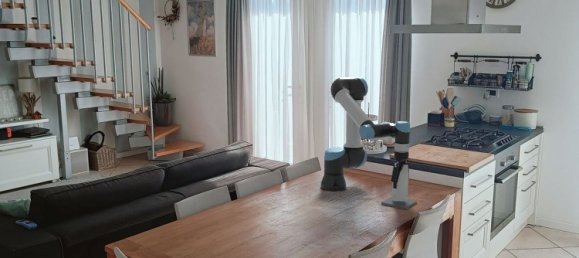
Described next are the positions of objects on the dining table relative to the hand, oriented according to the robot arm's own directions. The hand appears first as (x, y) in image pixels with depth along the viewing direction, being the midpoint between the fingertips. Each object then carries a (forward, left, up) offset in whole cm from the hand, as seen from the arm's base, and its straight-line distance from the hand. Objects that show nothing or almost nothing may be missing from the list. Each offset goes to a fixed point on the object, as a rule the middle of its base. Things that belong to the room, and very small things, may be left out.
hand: (399, 191), depth 279 cm
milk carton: (0, 0, -4) cm, 4 cm away
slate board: (0, 0, -7) cm, 7 cm away
